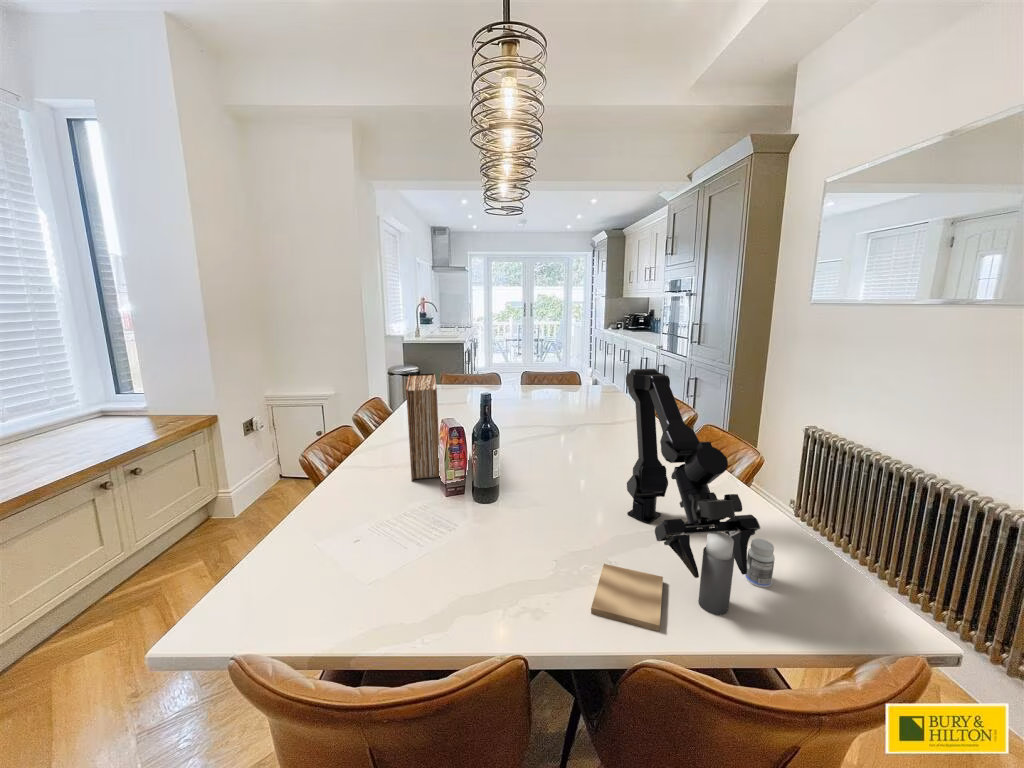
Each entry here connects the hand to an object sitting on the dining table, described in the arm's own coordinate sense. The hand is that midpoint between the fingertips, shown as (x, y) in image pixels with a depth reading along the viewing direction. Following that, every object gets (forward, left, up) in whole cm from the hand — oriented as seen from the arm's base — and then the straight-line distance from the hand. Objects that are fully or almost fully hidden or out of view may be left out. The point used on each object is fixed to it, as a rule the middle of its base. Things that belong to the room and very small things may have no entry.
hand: (721, 575), depth 78 cm
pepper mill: (-1, -1, -7) cm, 7 cm away
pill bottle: (-15, +2, -7) cm, 17 cm away
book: (+5, -97, -7) cm, 98 cm away
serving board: (+9, -13, -7) cm, 18 cm away
